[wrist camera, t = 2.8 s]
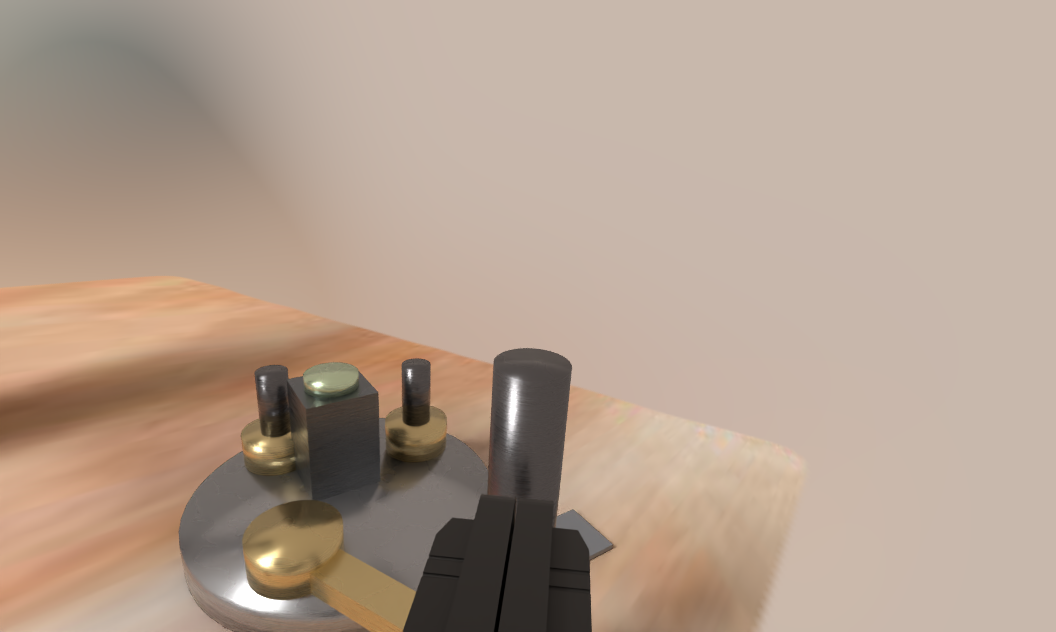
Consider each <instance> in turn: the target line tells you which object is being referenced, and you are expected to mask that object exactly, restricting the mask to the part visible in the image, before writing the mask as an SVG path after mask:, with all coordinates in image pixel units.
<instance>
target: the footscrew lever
mask: <svg viewBox="0 0 1056 632" xmlns="http://www.w3.org/2000/svg"><path fill="white" fill-rule="evenodd" d="M571 371H572V365H571V364H570V362H569V361H568V360H567V359H566V358H565V357H563V356H561V355H559V354H557V353H554V352H551V351H547V350H541V349H532V348H531V349H530V348H523V349H514V350H509V351H505V352H503V353H501V354H499V355H498V356H497V357H496V358H495V359H494V366H493V387H492V407H491V427H490V447H489V467H488V487H487V495H496V496H506V497H516V513H517V506H518V500H519V498H528V499H538V500H548V501H554V507H553V524H552V527H553V528H556V520H557V510H558V500H559V490H560V480H561V470H562V461H563V451H564V441H565V431H566V421H567V411H568V401H569V391H570V381H571ZM515 519H516V517H515ZM242 545H243V553H244V561H245V569H246V576H247V582H248V584H249V586H250V588H251V589H252V590H253V591H254V592H255V593H256V594H258V595H260V596H262V597H265V598H268V599H272V600H291V599H296V598H301V597H304V596H307V595H309V594H312V595H313V596H315V597H317V598H318V599H320V600H321V601H323V602H324V603H326V604H328V605H329V606H331V607H332V608H334V609H336V610H337V611H339V612H340V613H342V614H344V615H345V616H347V617H348V618H350V619H352V620H353V621H355V622H356V623H358V624H359V625H361V626H363V627H364V628H366V629H367V630H369V631H371V632H403V629H404V626H405V623H406V620H407V617H408V614H409V611H410V609H411V606H412V603H413V600H414V597H415V594H416V591H414V590H412V589H411V588H409V587H407V586H405V585H404V584H402V583H400V582H398V581H396V580H395V579H393V578H391V577H389V576H387V575H386V574H384V573H382V572H380V571H378V570H377V569H375V568H373V567H371V566H370V565H368V564H366V563H364V562H362V561H361V560H359V559H357V558H355V557H353V556H352V555H350V554H348V553H346V552H345V551H344V533H343V519H342V516H341V514H340V512H339V511H338V510H337V509H336V508H335V507H333V506H332V505H330V504H328V503H325V502H322V501H317V500H297V501H291V502H287V503H283V504H280V505H278V506H275V507H273V508H271V509H268V510H267V511H265V512H263V513H262V514H260V515H259V516H258V517H256V518H255V519H254V520H253V521H252V522H251V523H250V524H249V526H248V527H247V528H246V530H245V532H244V535H243V539H242Z"/></svg>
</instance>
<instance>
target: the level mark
mask: <svg viewBox="0 0 1056 632" xmlns="http://www.w3.org/2000/svg"><path fill="white" fill-rule="evenodd" d="M556 528H563V529H573V530H578V531H579V533H580V534H581V536H582V538H583V540H584V541H585V543H586V545H587V547H588V548H589V560H591V559H593V558H595V557H597V556H599V555H601V554H603V553H605V552H607V551H608V550H610V549H612V546H613V544H612V543H610V542H609V541H608V540H607V539H606V538H605V537H604V536H603V535H601V534H600V533H599V532H598V531H597V530H596V529H595V528H594V527H592V526H591V525H590V524H589V523H588V522H587V521H586V520H585V519H583V518H582V517H581V516H580V515H579V514H578V513H577V512H576V511H574V510H570V511H568V512H566V513H564V514H561V515H559V516H557V520H556Z"/></svg>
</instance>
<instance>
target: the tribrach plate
mask: <svg viewBox="0 0 1056 632" xmlns="http://www.w3.org/2000/svg"><path fill="white" fill-rule="evenodd" d="M255 381H256V390H257V400H258V409H259V419H257V420H255V421H253V422H251V423H249V424H248V425H247V426H246V427H245V428H244V429H243V430H242V433H241V440H242V448H243V451H242V452H240V453H238V454H237V455H235V456H234V457H232V458H231V459H229V460H228V461H226V462H225V463H224V464H222V465H221V466H220V467H218V468H217V469H216V470H215V471H214V472H213V473H212V474H211V475H210V476H208V477H207V478H206V479H205V480H204V481H203V483H202V484H201V485H200V486H199V487H198V489H197V490H196V491H195V492H194V494H193V495H192V497H191V499H190V500H189V502H188V504H187V505H186V508H185V510H184V513H183V515H182V518H181V523H180V528H179V543H180V551H181V556H182V562H183V568H184V573H185V578H186V581H187V585H188V588H189V591H190V593H191V594H192V596H193V598H194V599H195V601H196V603H197V604H198V605H199V607H200V608H201V609H202V610H203V611H204V612H205V613H206V614H207V615H208V616H209V617H210V618H212V619H213V620H215V621H216V622H218V623H219V624H221V625H222V626H223V627H225V628H227V629H230V630H232V631H234V632H371V631H369V630H367V629H366V628H364V627H363V626H361V625H359V624H358V623H356V622H355V621H353V620H352V619H350V618H348V617H347V616H345V615H344V614H342V613H340V612H339V611H337V610H336V609H334V608H332V607H331V606H329V605H328V604H326V603H324V602H323V601H321V600H320V599H318V598H317V597H315V596H313V595H312V594H309V595H307V596H304V597H301V598H296V599H291V600H272V599H268V598H265V597H262V596H260V595H258V594H256V593H255V592H254V591H253V590H252V589H251V588H250V586H249V584H248V582H247V576H246V569H245V561H244V553H243V545H242V539H243V535H244V532H245V530H246V528H247V527H248V526H249V524H250V523H251V522H252V521H253V520H254V519H255V518H256V517H258V516H259V515H260V514H262V513H263V512H265V511H267V510H268V509H271V508H273V507H275V506H278V505H280V504H283V503H287V502H291V501H297V500H317V501H322V502H325V503H328V504H330V505H332V506H333V507H335V508H336V509H337V510H338V511H339V512H340V514H341V516H342V519H343V533H344V551H345V552H346V553H348V554H350V555H352V556H353V557H355V558H357V559H359V560H361V561H362V562H364V563H366V564H368V565H370V566H371V567H373V568H375V569H377V570H378V571H380V572H382V573H384V574H386V575H387V576H389V577H391V578H393V579H395V580H396V581H398V582H400V583H402V584H404V585H405V586H407V587H409V588H411V589H412V590H414V591H417V588H418V585H419V582H420V579H421V577H422V576H423V571H424V568H425V565H426V562H427V559H428V558H429V553H430V550H431V547H432V544H433V542H434V539H435V536H436V534H437V533H438V532H439V531H440V530H441V529H442V528H443V526H444V525H445V524H446V523H447V522H448V521H449V520H450V519H451V518H452V517H453V518H463V519H472V520H474V518H475V515H476V511H477V507H478V503H479V499H480V496H481V494H485V495H487V487H488V470H487V468H486V467H485V465H484V463H483V462H482V460H481V459H480V458H479V457H478V455H477V454H476V453H475V452H474V451H473V450H472V449H471V448H469V447H468V446H467V445H466V444H465V443H463V442H461V441H460V440H458V439H457V438H455V437H453V436H451V435H449V434H447V433H446V430H447V417H446V415H445V413H444V412H443V411H441V410H440V409H438V408H436V407H433V406H430V362H429V361H427V360H425V359H409V360H406V361H404V362H403V363H402V407H400V408H397V409H395V410H393V411H392V412H390V413H389V414H388V415H387V417H386V418H379V399H378V392H377V391H376V389H375V388H374V387H373V386H372V385H371V384H370V383H369V382H368V381H367V380H366V379H365V378H364V376H363V375H362V374H361V373H360V372H359V371H358V369H357V368H356V367H355V366H353V365H350V364H347V363H338V362H333V363H324V364H319V365H316V366H313V367H311V368H309V369H307V370H306V371H305V372H304V374H303V376H302V377H296V378H291V379H288V369H287V368H286V367H285V366H281V365H269V366H264V367H261V368H259V369H257V370H256V371H255Z"/></svg>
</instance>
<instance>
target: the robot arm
mask: <svg viewBox="0 0 1056 632" xmlns="http://www.w3.org/2000/svg"><path fill="white" fill-rule="evenodd" d="M553 507H554V501H548V500H538V499H528V498H519V500H518V506H517V513H516V497H506V496H496V495H485V494H481V496H480V499H479V503H478V507H477V511H476V515H475V518H474V520H472V519H463V518H453V517H452V518H451V519H450V520H449V521H448V522H447V523H446V524H445V525H444V526H443V528H442V529H441V530H440V531H439V532H438V533H437V534H436V536H435V539H434V542H433V544H432V547H431V550H430V553H429V558H428V559H427V562H426V565H425V568H424V571H423V576H422V577H421V579H420V582H419V585H418V588H417V591H416V594H415V597H414V600H413V603H412V606H411V609H410V611H409V614H408V617H407V620H406V623H405V626H404V629H403V632H592V626H591V594H590V561H589V548H588V547H587V545H586V543H585V541H584V540H583V538H582V536H581V534H580V533H579V531H578V530H573V529H563V528H553V527H552V524H553ZM515 517H516V519H515Z"/></svg>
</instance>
